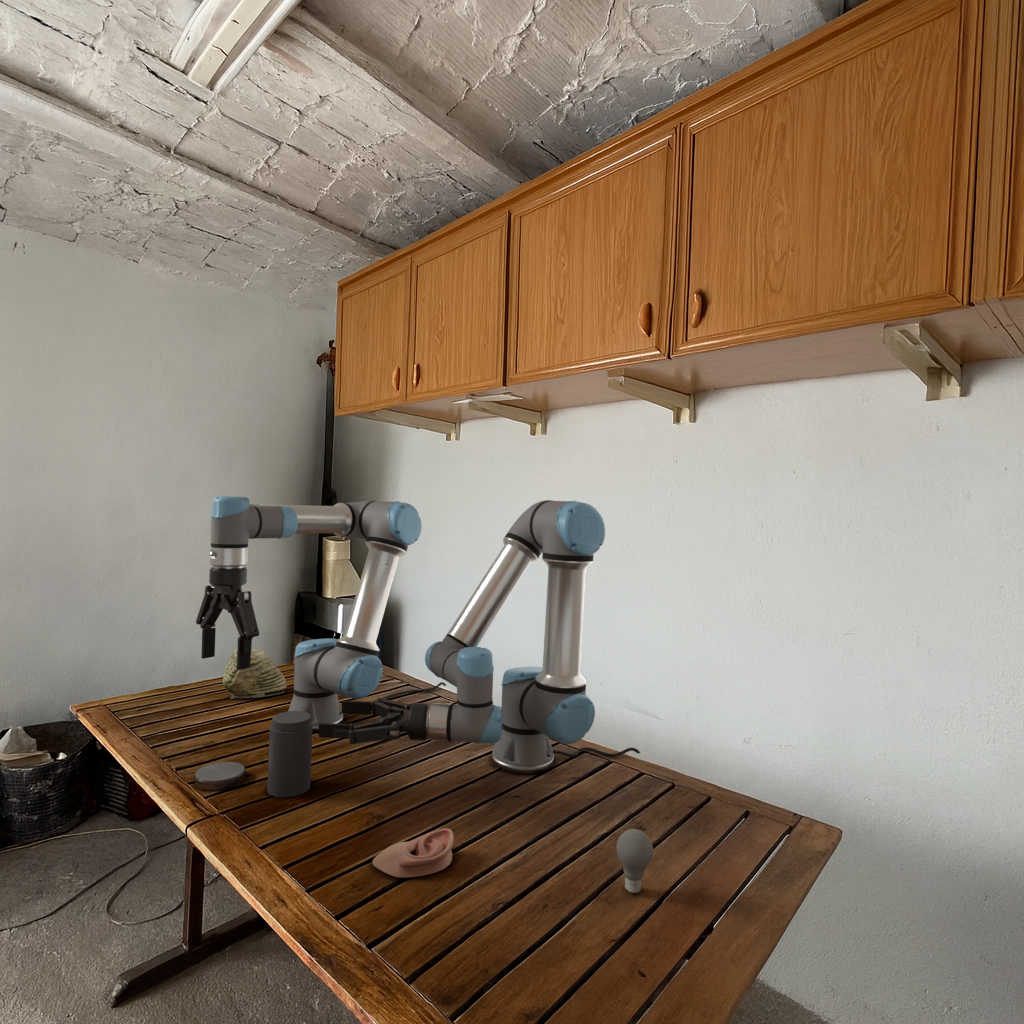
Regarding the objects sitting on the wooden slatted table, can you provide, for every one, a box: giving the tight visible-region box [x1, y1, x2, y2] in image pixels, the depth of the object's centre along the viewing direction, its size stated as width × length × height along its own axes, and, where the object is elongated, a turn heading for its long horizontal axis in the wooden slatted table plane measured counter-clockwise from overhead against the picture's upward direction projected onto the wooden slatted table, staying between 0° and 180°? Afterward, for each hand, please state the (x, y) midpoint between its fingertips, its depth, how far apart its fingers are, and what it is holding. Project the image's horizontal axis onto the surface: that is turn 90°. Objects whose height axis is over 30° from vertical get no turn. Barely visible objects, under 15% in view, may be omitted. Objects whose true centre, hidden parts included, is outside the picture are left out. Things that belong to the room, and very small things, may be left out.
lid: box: [194, 761, 246, 791], centre depth 139 cm, size 10×10×2 cm
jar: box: [266, 711, 313, 798], centre depth 137 cm, size 9×9×16 cm
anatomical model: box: [372, 828, 455, 879], centre depth 112 cm, size 13×4×12 cm
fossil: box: [222, 647, 288, 699], centre depth 198 cm, size 9×18×15 cm, turn 132°
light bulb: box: [615, 828, 654, 894], centre depth 106 cm, size 6×6×10 cm
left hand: (225, 663), depth 139 cm, fingers open, 13 cm apart
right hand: (331, 718), depth 136 cm, fingers open, 13 cm apart
